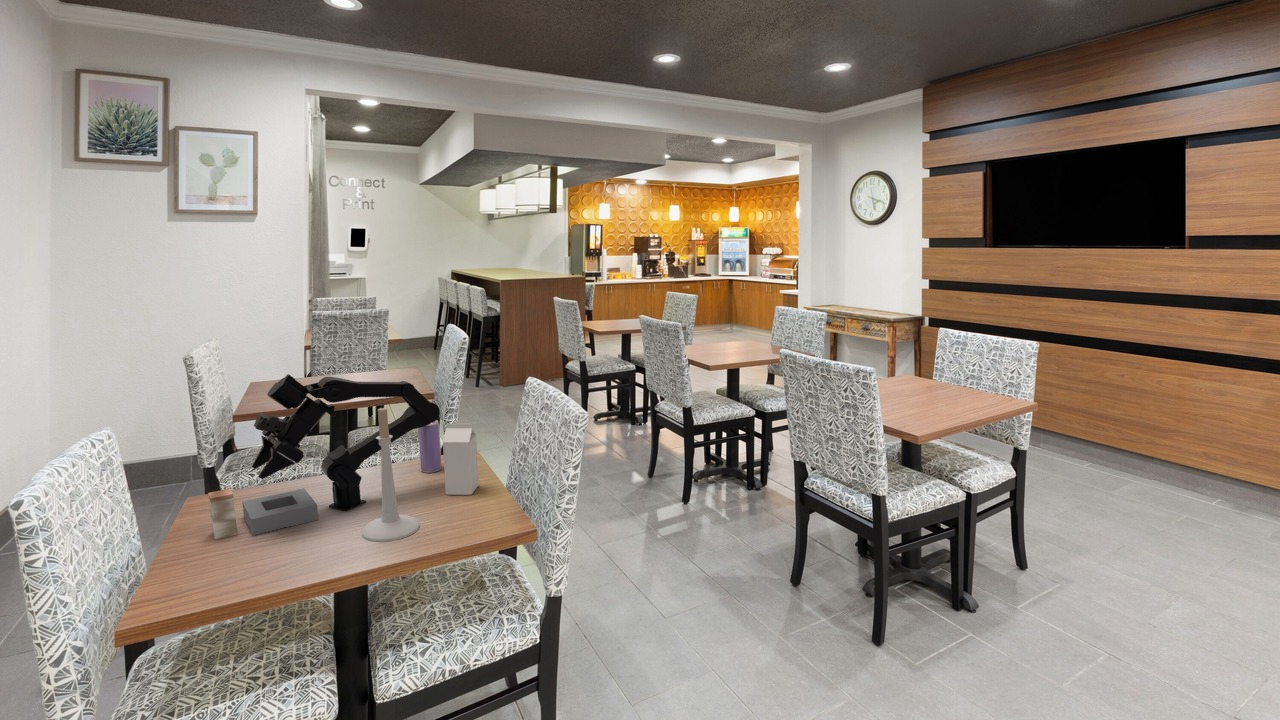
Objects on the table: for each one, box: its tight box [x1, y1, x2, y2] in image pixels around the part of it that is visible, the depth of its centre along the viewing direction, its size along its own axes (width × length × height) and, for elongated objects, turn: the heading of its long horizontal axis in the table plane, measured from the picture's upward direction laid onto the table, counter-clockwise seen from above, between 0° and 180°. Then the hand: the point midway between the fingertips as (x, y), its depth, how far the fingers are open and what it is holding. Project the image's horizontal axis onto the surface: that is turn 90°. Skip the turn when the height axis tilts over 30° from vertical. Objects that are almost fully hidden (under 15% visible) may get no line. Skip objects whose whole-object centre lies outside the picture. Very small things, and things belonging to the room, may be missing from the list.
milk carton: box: [442, 423, 479, 496], centre depth 175 cm, size 7×7×19 cm
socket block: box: [242, 488, 319, 536], centre depth 158 cm, size 14×14×4 cm
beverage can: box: [417, 419, 442, 474], centre depth 192 cm, size 6×6×15 cm
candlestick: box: [361, 407, 421, 542], centre depth 149 cm, size 13×13×30 cm
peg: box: [207, 488, 238, 540], centre depth 149 cm, size 4×4×10 cm
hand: (256, 472), depth 152 cm, fingers open, 9 cm apart
